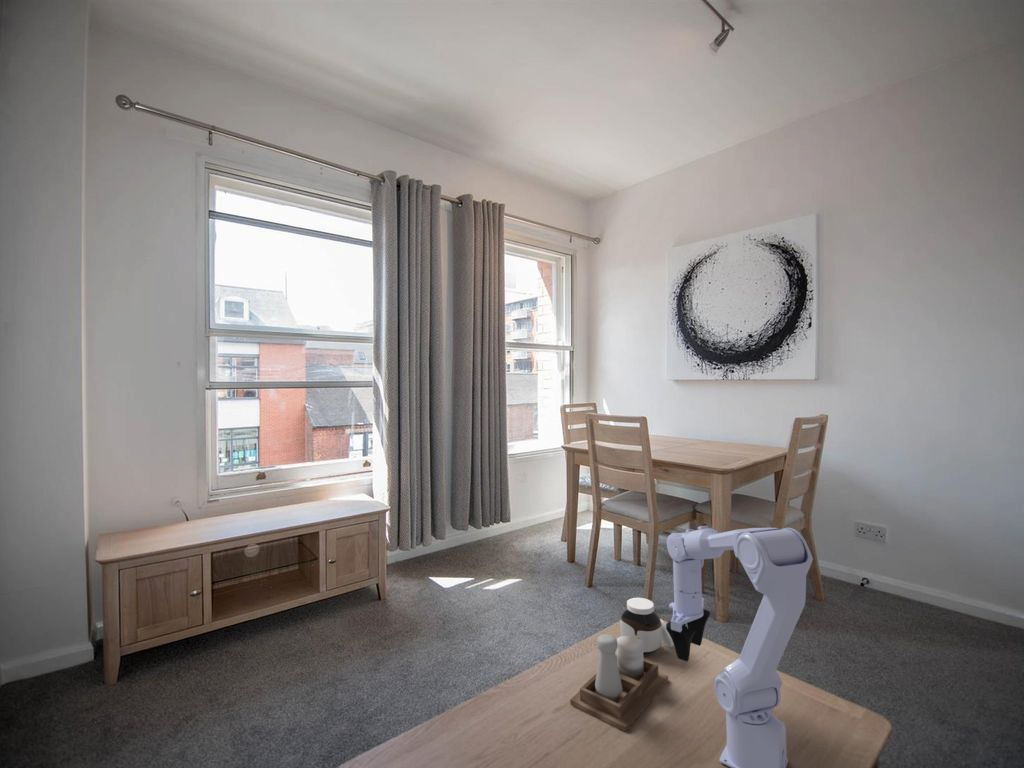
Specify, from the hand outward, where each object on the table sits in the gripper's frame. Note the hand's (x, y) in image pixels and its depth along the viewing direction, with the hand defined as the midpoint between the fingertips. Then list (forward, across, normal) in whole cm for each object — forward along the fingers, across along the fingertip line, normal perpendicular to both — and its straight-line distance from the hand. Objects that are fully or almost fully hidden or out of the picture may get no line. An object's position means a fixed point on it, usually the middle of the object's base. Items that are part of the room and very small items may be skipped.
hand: (689, 651), depth 101 cm
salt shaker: (+10, +12, -13) cm, 20 cm away
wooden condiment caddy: (+10, +7, -13) cm, 18 cm away
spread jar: (+11, -14, -16) cm, 24 cm away
